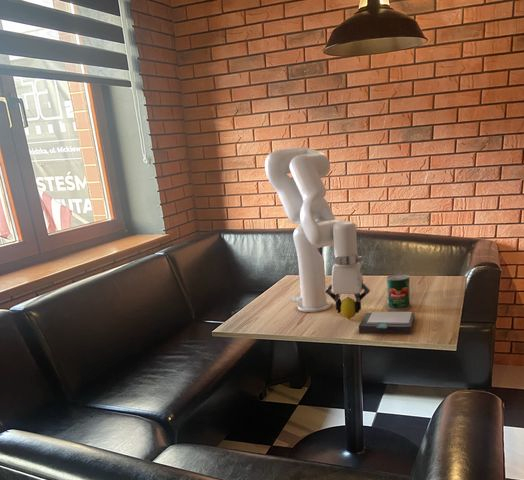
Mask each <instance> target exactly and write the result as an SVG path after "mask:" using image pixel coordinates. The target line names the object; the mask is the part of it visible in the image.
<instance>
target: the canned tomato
mask: <svg viewBox="0 0 524 480" xmlns="http://www.w3.org/2000/svg"><path fill="white" fill-rule="evenodd" d="M410 294H411V293H410V275H408V274H401V273H399V274H398V273H397V274H390V275H387V276H386V302H387V304H386V305H387V309H389V310H393V311H402V310H407V309H409V308H410V307H411V301H410V296H411V295H410Z"/></svg>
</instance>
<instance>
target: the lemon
mask: <svg viewBox="0 0 524 480" xmlns="http://www.w3.org/2000/svg"><path fill="white" fill-rule="evenodd" d="M355 302H356V300H354V299H353V298H351V297H349V296H347V297H345V298H344V299H343V300H341V306H340V310H341V312H340V314H341V316H342V317H343V318H345V319H347V320H351V319H352V318H354V317H355V315H356V314H357V313H356V307H355Z"/></svg>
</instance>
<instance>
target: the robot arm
mask: <svg viewBox="0 0 524 480" xmlns="http://www.w3.org/2000/svg"><path fill="white" fill-rule="evenodd" d="M264 170H265V174H266V178H267V180H268V182H269V184H270V185H271V187H272V188H273V190H275V193H276V194H277V196H278V198H279V200H280V203H281V206H282V208H283V210H284V212H285V214H286V216H287V218H288V220H289V221H290V223H291V224H293V225H297V226H296V227H295V228H294V231H293V234H292V237H293V242H294V246H295V251H296V256H297V263H298V277H299V287H300V295H299V296H291V297H290V302H291V303H292V304H298V305H297V309H298V310H299V311H300V312H304V313H316V312H318V313H319V312H323V311H327V310H328V309H330V308H332V303H331V301H329V300H328V299H327V296H330V298H331V299H332V300H333V301H334V302H335V310H336V311H337V313H338V314H341V310H340V306H341V302H342V299H341V296H342V295H354V298H355V307H356V314H359V312H360V311H361V310H362V300H363V299H364V298H365V297H366V296H367V295H368V294H370V292H371V289H370V288H369V287H368V286H367V285H366V283H364V278H363V277H364V275H363V269H362V265H361V262H359V261H362V259H363V256H362V255H359V254H358V240H357V225H356V223H355V222H353V221H345V220H344V219H340V218H336V217H335V215H334V213H333V211H332V209H331V206H330V204H329V202H328V201H327V199H326V198H325V196H326V194H327V188H326V186H325V184H324V182H323V180H322V178H324V177H327V176H328V175H329V173H330V170H331V163H330V160H329V157H328V156H327V155H326V154H325V153H324V152H322V151H319V150H316V149H313V148H310V147H303V146H302V147H292V148H283V149H278V150H277V149H276V150H274V151H272V152H270V153H268V155H267V156H266V158H265V160H264ZM289 174H291V176H292V177H291V176H289ZM330 246H333V253H334V254H333V256H334V263H333V265H332V270H331V284H330V285H329V286H328V287H327V285H326V284H327V283H326V270H325V269H326V268H325V259H324V256H323V255H322V254H321V252H320V251H319V249H320V248H325V247H330ZM362 290H363V292H362Z"/></svg>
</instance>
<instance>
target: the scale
mask: <svg viewBox="0 0 524 480" xmlns="http://www.w3.org/2000/svg"><path fill="white" fill-rule="evenodd" d="M415 320H416V313H415V312H413V311H372V312H365V314H364V316H363V318H362V319H361V321H360V323H359V324H358V334H372V335H373V334H374V335H378V334H381V335H411V334H412V331H413V328H414V324H415Z"/></svg>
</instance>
